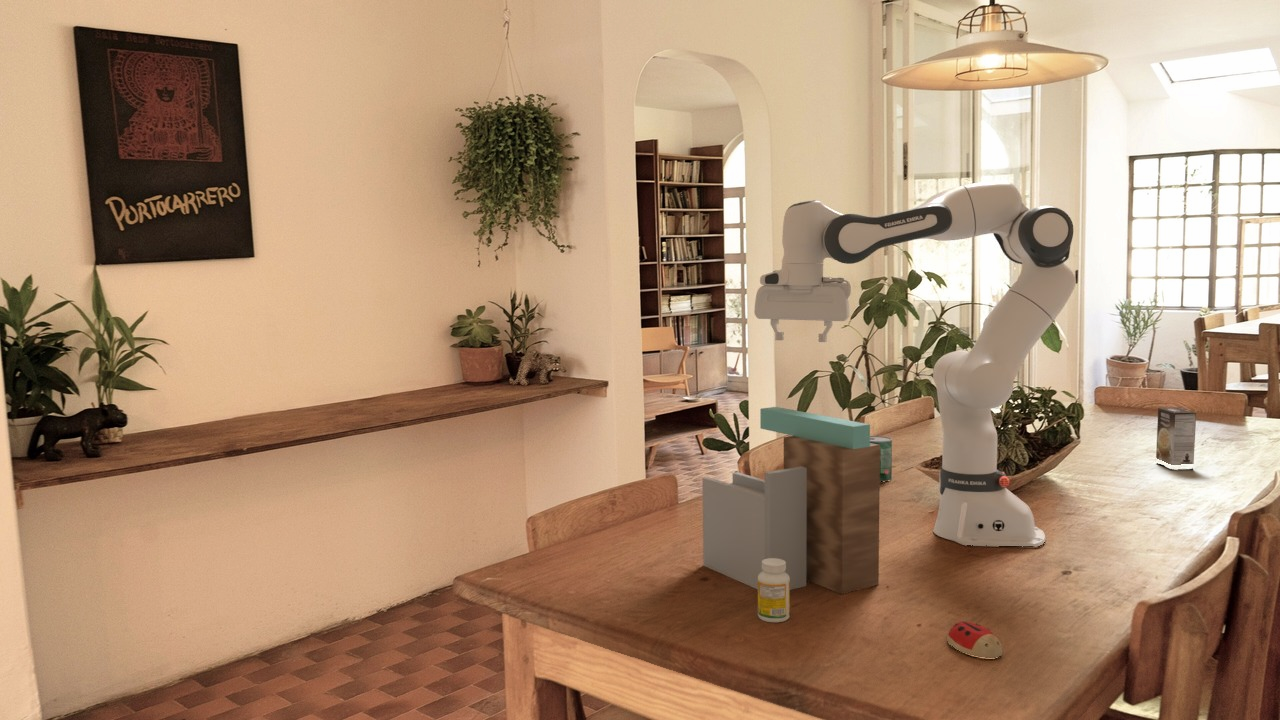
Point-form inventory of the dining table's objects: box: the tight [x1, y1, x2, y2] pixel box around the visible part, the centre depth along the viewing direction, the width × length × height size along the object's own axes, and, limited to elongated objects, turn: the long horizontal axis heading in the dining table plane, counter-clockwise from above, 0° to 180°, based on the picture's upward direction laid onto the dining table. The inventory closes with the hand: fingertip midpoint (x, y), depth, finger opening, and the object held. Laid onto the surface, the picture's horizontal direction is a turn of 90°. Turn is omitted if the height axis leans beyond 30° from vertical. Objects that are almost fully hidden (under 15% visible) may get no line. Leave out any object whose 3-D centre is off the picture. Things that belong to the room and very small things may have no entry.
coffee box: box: [1155, 406, 1197, 465], centre depth 273 cm, size 9×6×16 cm
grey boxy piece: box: [701, 467, 807, 591], centre depth 186 cm, size 20×8×22 cm, turn 32°
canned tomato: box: [870, 435, 893, 483], centre depth 265 cm, size 8×8×11 cm
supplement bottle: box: [757, 558, 791, 623], centre depth 165 cm, size 5×5×10 cm
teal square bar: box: [759, 406, 871, 449], centre depth 187 cm, size 26×4×4 cm, turn 32°
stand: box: [783, 435, 881, 595], centre depth 184 cm, size 16×9×26 cm, turn 32°
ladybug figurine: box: [946, 621, 1004, 658], centre depth 152 cm, size 7×10×4 cm
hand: (800, 341), depth 214 cm, fingers open, 8 cm apart
